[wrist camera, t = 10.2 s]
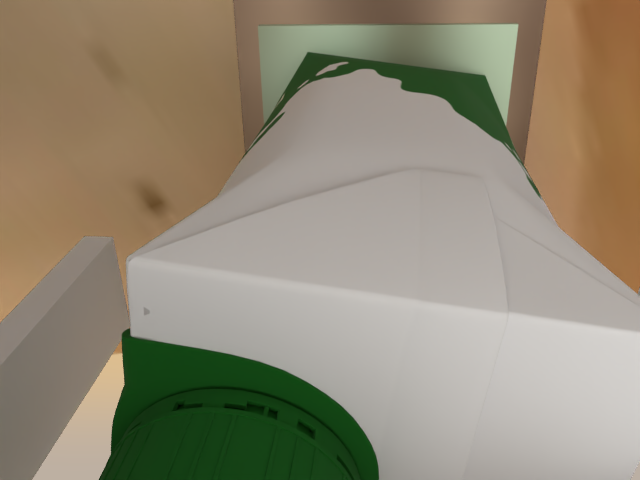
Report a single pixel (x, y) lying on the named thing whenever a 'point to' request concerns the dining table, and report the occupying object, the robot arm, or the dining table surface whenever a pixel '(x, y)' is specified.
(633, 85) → the dining table surface
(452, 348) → the soya milk
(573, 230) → the dining table surface
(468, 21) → the step block
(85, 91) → the dining table surface
